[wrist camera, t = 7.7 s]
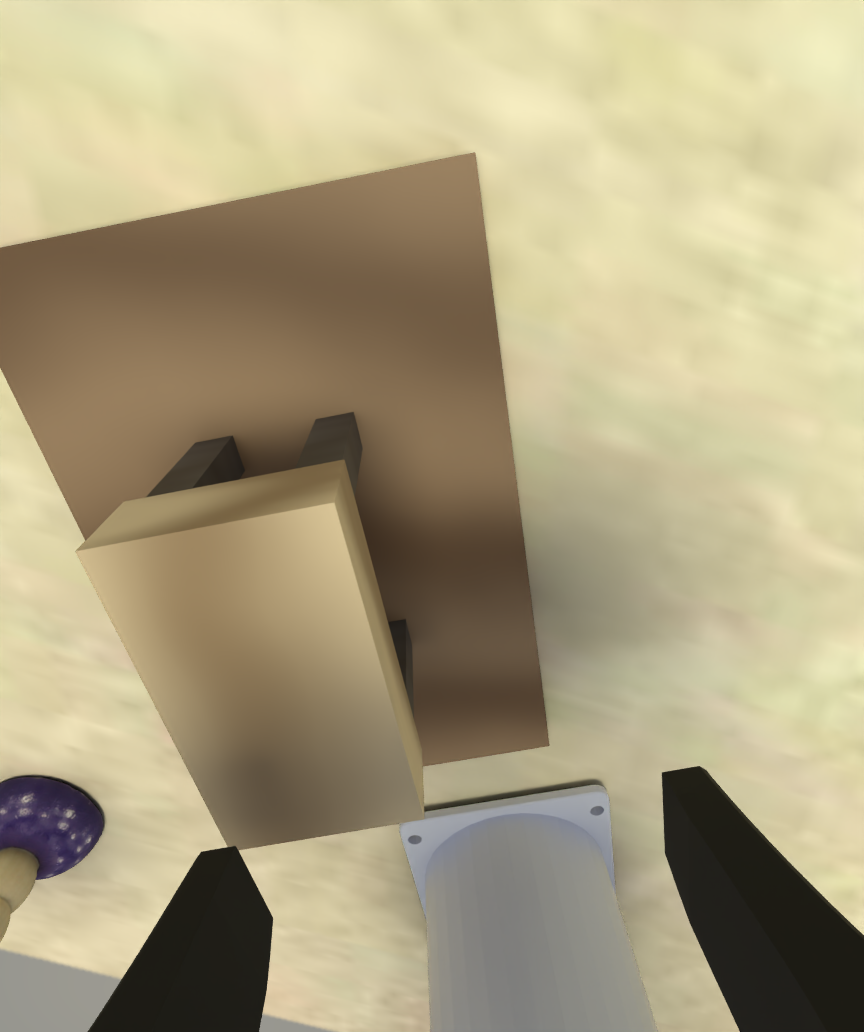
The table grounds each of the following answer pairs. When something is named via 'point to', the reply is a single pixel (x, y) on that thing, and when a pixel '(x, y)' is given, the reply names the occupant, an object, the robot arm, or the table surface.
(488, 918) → the robot arm
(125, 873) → the table surface
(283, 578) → the oak stool
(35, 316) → the walnut board
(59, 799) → the toy lamp
